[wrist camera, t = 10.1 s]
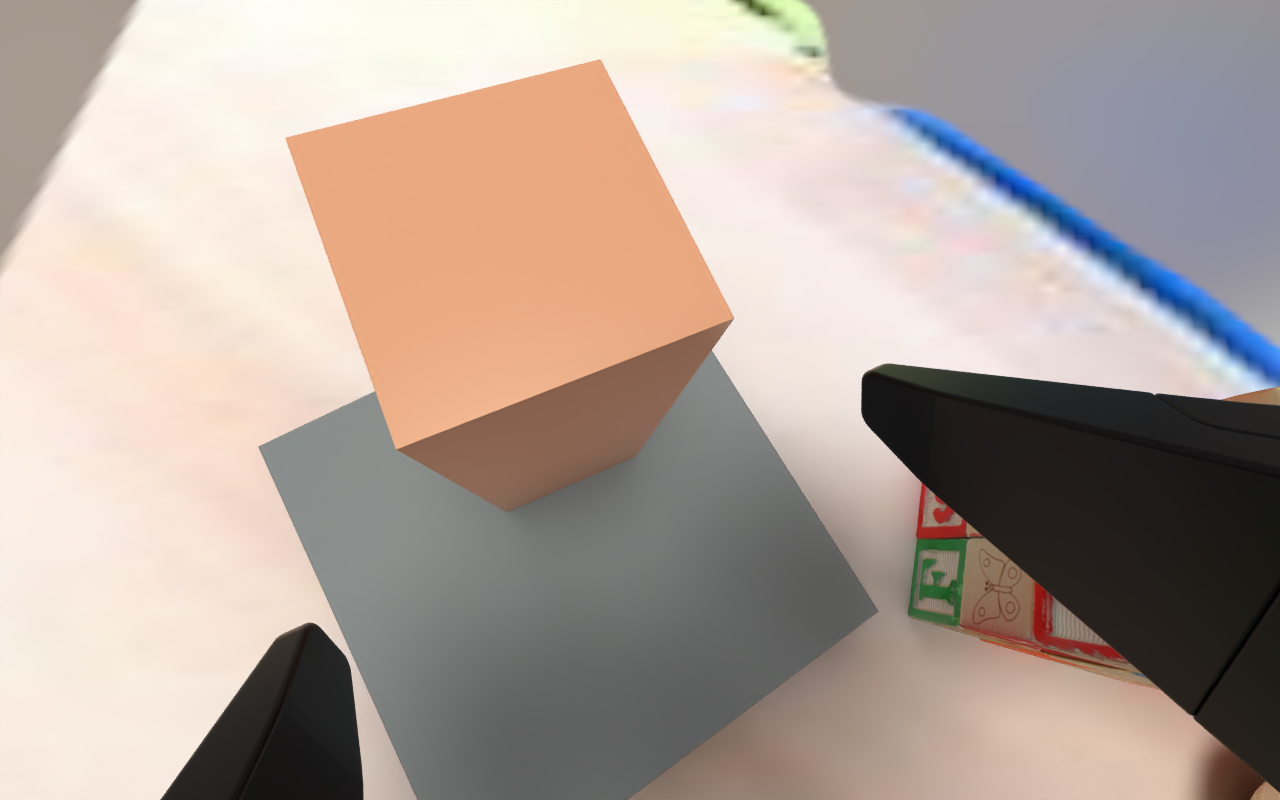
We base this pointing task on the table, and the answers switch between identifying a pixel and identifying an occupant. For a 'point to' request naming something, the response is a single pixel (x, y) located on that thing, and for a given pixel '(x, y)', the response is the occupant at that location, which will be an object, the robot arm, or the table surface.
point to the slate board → (568, 598)
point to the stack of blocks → (1006, 591)
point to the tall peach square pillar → (513, 279)
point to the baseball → (1266, 793)
